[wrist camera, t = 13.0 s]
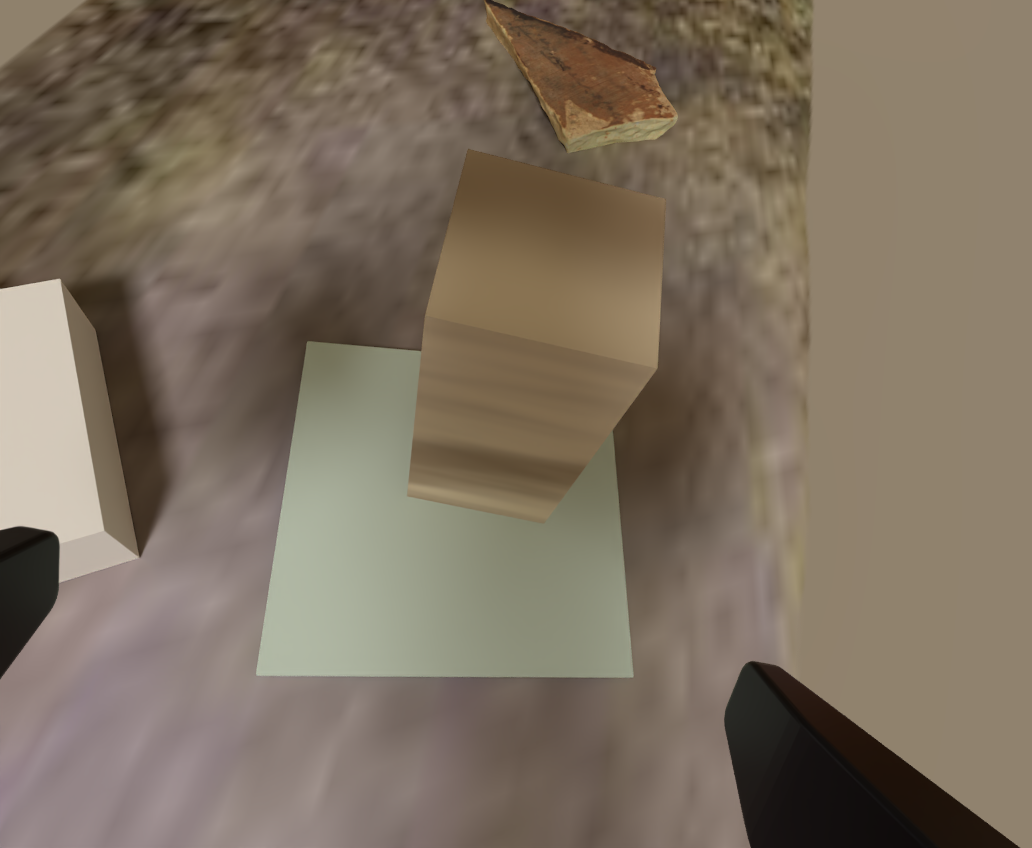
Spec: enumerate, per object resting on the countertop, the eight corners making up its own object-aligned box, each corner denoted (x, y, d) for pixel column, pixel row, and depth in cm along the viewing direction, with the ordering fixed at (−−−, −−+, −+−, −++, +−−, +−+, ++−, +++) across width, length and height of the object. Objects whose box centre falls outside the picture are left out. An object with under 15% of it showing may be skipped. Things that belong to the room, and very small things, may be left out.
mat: (630, 677, 22) (633, 677, 22) (257, 676, 20) (256, 675, 20) (605, 371, 27) (607, 367, 27) (308, 345, 25) (307, 341, 25)
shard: (479, 23, 37) (484, -9, 35) (597, 13, 39) (606, -18, 38) (557, 162, 33) (566, 133, 31) (682, 141, 35) (696, 113, 34)
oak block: (543, 523, 24) (657, 368, 14) (407, 496, 23) (424, 315, 13) (559, 404, 26) (666, 199, 16) (435, 376, 25) (468, 148, 16)
